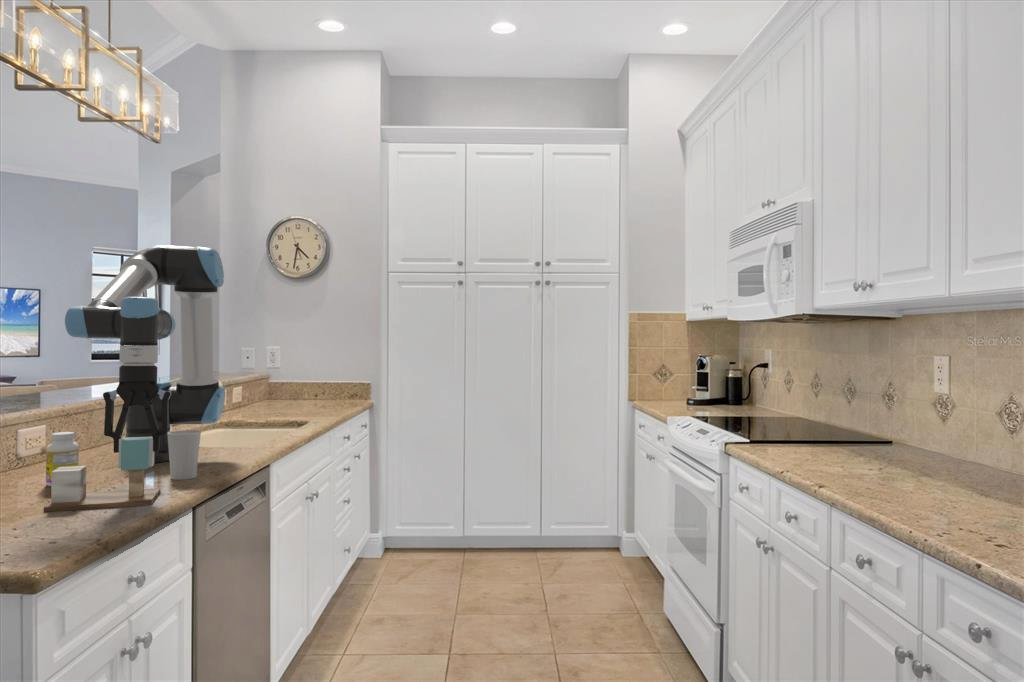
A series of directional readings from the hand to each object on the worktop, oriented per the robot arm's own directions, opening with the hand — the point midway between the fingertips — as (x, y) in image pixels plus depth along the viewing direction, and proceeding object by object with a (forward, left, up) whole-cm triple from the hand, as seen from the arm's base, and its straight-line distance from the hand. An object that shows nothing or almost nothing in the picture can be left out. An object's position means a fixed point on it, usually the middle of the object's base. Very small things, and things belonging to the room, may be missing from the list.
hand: (136, 465), depth 144 cm
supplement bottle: (-22, -20, -8) cm, 31 cm away
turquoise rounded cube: (0, 0, 0) cm, 0 cm away
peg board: (0, -6, -8) cm, 10 cm away
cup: (-23, +7, -8) cm, 25 cm away
